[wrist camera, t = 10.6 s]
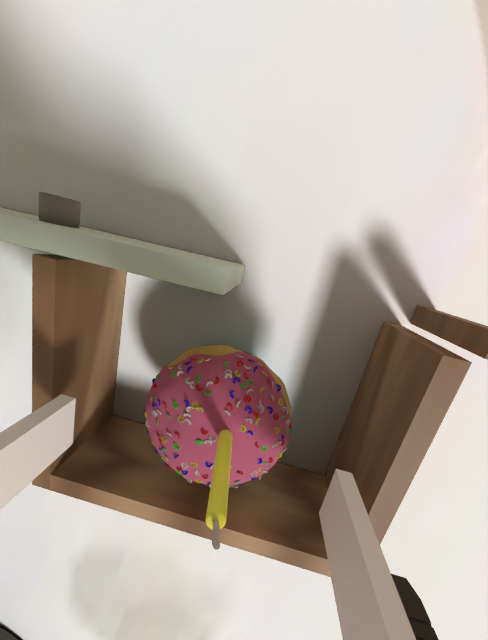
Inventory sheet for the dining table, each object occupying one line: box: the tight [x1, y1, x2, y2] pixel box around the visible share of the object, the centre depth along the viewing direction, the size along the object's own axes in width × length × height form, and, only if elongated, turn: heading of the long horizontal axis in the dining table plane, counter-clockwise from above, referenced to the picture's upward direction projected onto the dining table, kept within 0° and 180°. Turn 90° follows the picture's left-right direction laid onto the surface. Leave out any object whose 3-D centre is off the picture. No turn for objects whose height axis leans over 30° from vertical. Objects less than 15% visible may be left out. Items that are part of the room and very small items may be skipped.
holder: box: [32, 254, 488, 577], centre depth 16 cm, size 22×16×6 cm
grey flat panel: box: [0, 192, 245, 295], centre depth 14 cm, size 20×3×6 cm, turn 77°
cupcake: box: [144, 345, 291, 549], centre depth 13 cm, size 9×8×12 cm
